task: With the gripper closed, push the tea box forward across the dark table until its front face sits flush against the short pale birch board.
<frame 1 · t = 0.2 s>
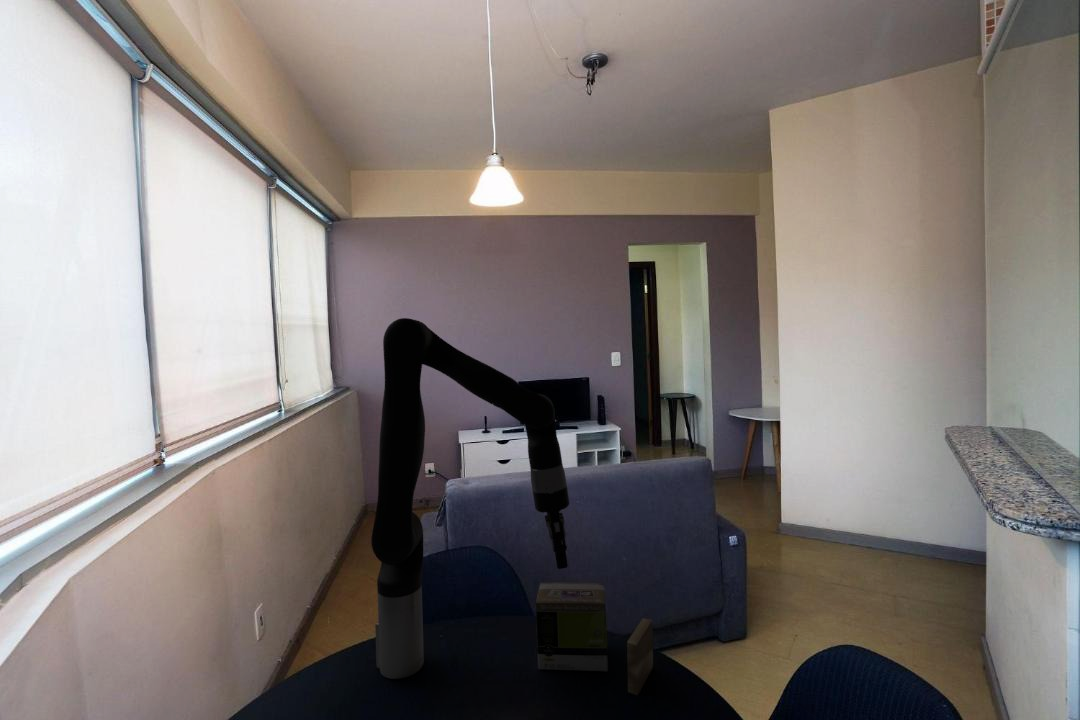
hand: (560, 559, 109), 22 cm above the table, tool pointing down, fingers open, 8 cm apart
birch board: (641, 679, 102), on the table
tea box: (573, 658, 110), on the table
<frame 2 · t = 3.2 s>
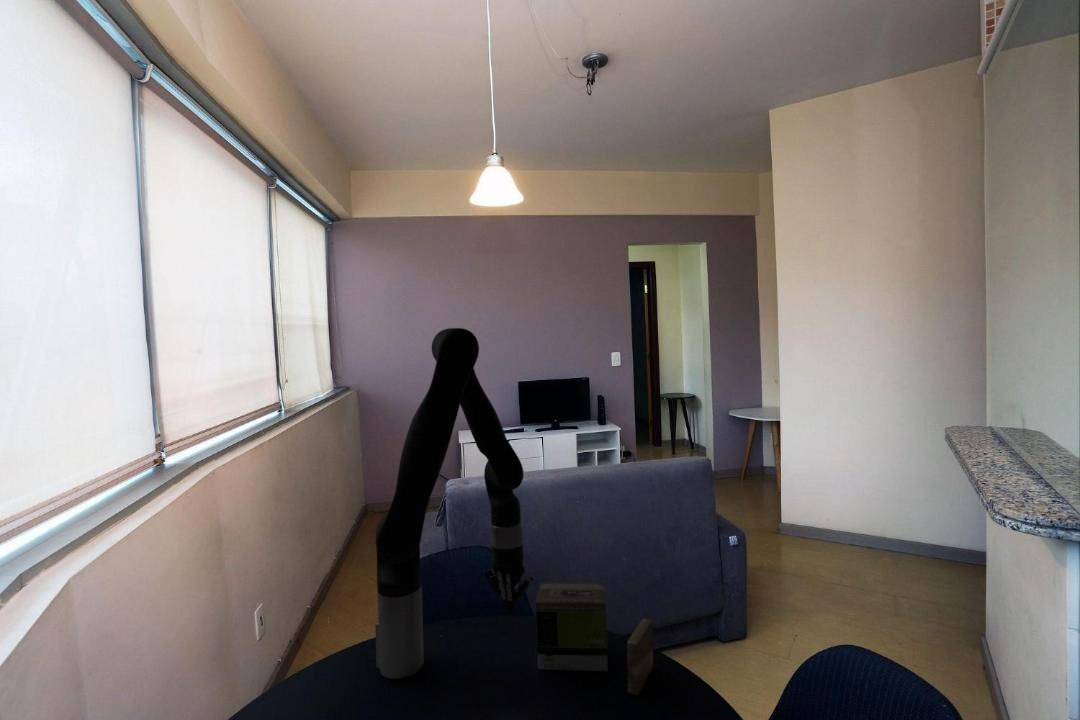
hand: (510, 613, 118), 6 cm above the table, tool pointing down, fingers closed
nothing on the table moved.
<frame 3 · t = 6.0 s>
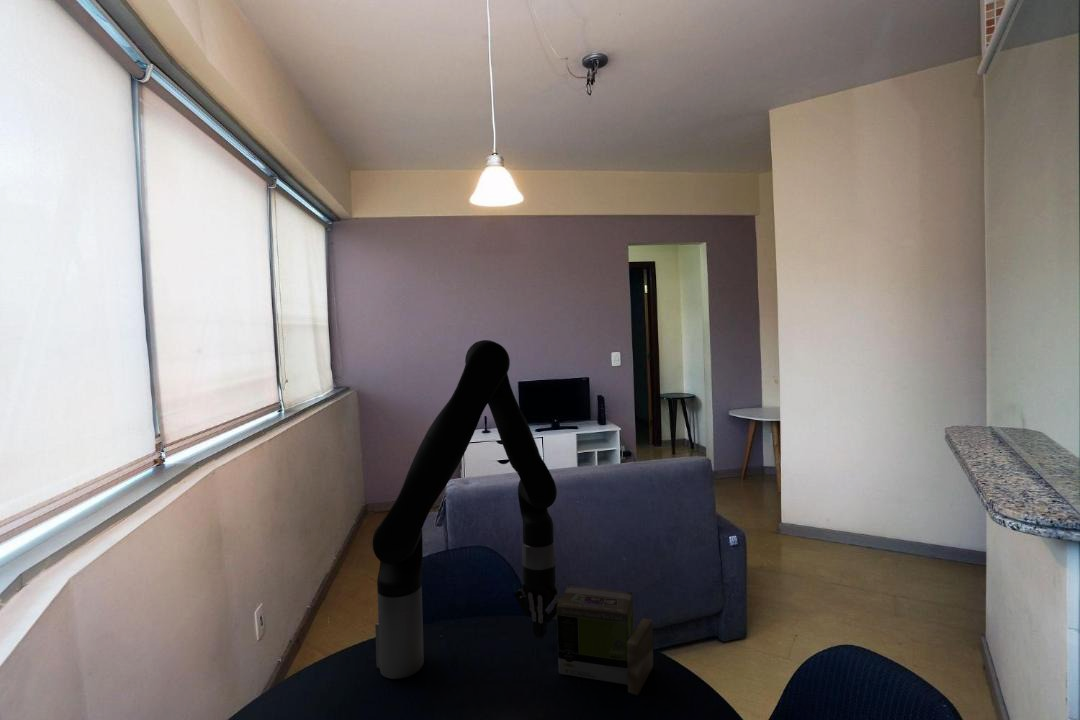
hand: (540, 636, 114), 2 cm above the table, tool pointing down, fingers closed
tea box: (597, 667, 107), on the table
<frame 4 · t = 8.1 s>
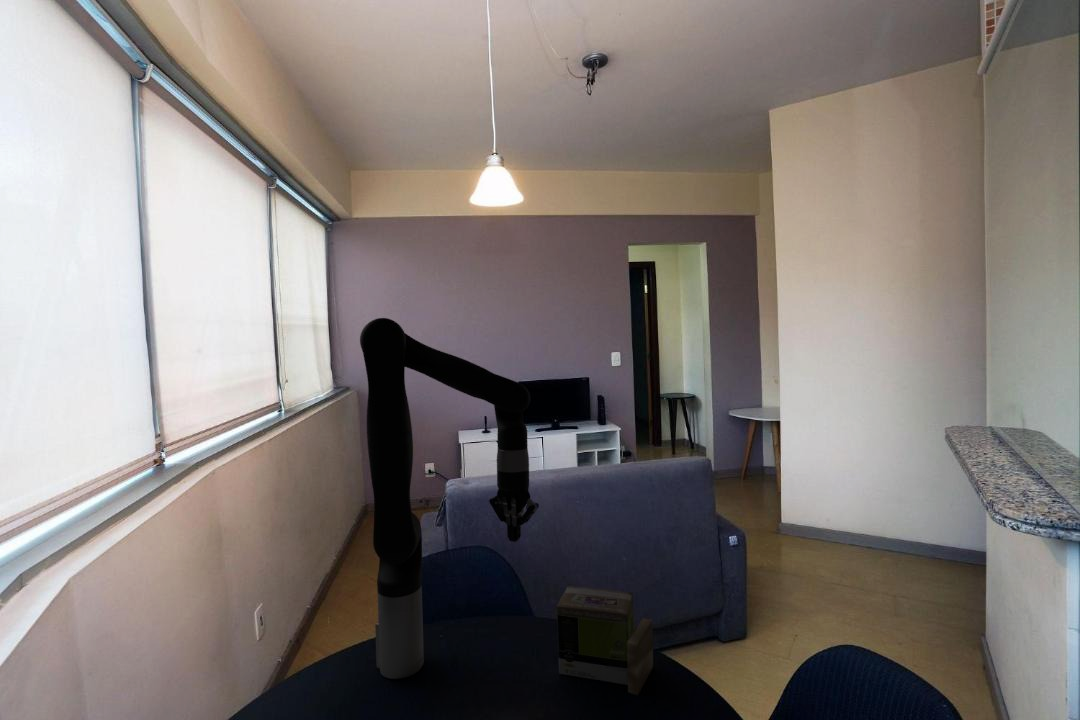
hand: (514, 540, 117), 23 cm above the table, tool pointing down, fingers closed
nothing on the table moved.
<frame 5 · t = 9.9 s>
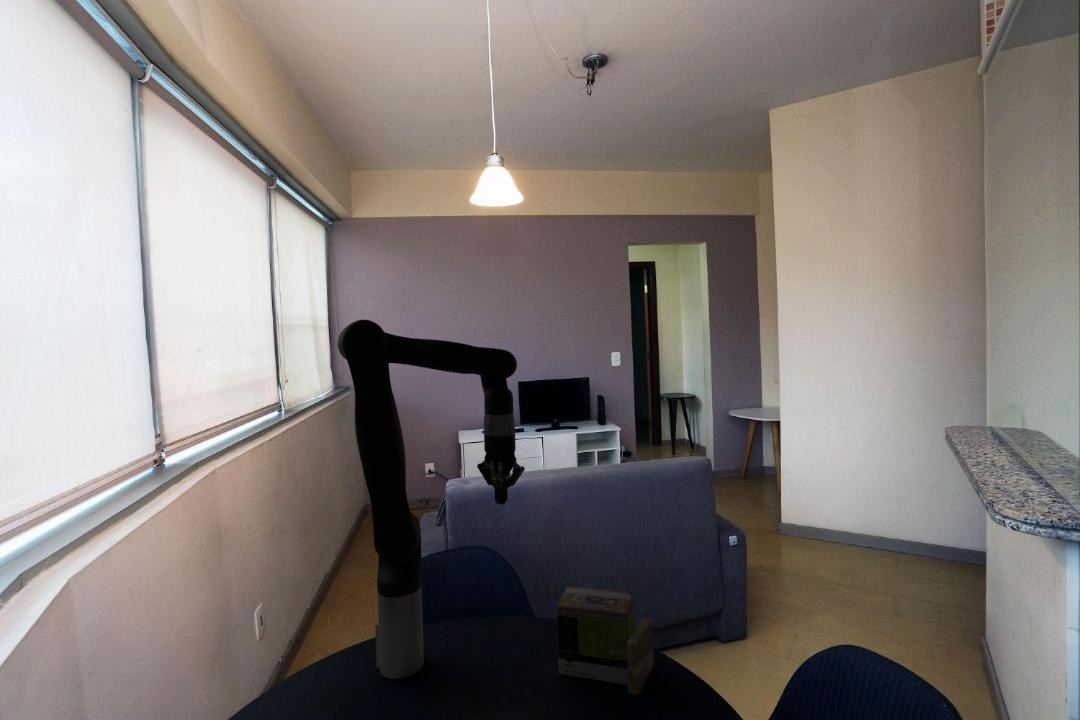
hand: (501, 503, 121), 31 cm above the table, tool pointing down, fingers closed
nothing on the table moved.
at the end: tea box 0.4 cm from the target spot on the table beside the birch board, on the table; tea box tilted 0°; tea box moved 6.0 cm from its start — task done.
